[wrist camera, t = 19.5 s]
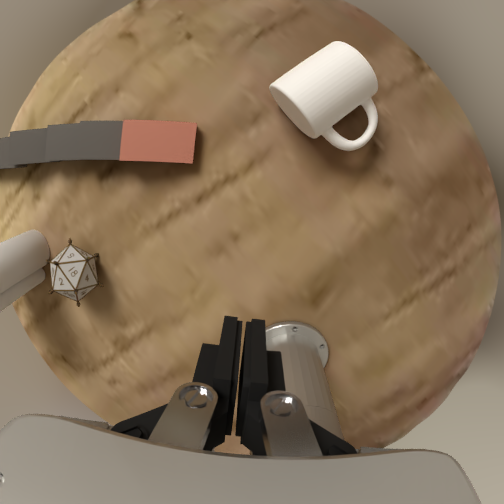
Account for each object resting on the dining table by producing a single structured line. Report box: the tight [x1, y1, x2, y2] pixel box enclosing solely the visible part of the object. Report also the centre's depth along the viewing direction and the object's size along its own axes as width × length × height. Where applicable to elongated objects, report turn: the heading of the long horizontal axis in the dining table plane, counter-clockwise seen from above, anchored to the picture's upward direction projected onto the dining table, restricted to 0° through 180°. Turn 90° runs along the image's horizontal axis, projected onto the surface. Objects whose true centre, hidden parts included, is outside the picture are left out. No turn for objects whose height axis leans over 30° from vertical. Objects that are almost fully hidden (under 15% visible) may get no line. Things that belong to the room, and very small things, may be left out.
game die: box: [46, 238, 103, 307], centre depth 36 cm, size 9×8×10 cm
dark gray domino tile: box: [45, 123, 96, 161], centre depth 33 cm, size 5×2×9 cm
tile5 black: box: [0, 137, 25, 169], centre depth 32 cm, size 5×2×9 cm
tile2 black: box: [76, 121, 123, 160], centre depth 33 cm, size 5×2×9 cm
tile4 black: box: [8, 128, 62, 165], centre depth 32 cm, size 5×2×9 cm
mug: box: [270, 41, 378, 151], centre depth 30 cm, size 12×10×8 cm
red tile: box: [119, 120, 197, 164], centre depth 33 cm, size 5×2×9 cm
